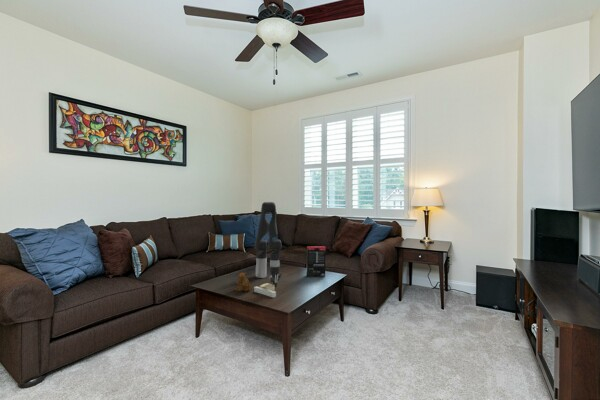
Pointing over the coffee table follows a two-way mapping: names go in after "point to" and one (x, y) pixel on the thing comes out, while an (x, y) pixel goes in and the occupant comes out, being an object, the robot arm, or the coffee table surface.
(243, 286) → the stuffed squirrel
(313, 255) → the graphics card box
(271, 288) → the maple block
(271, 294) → the board
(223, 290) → the coffee table surface
